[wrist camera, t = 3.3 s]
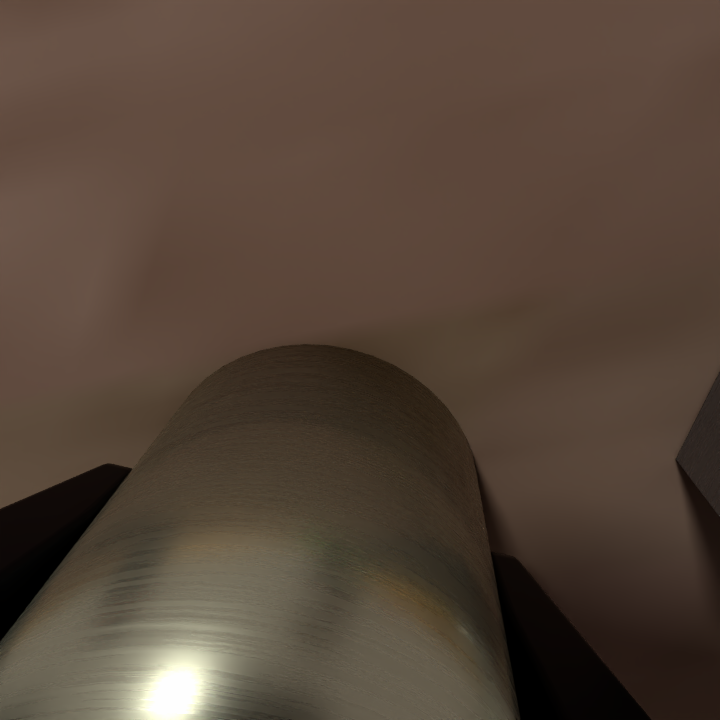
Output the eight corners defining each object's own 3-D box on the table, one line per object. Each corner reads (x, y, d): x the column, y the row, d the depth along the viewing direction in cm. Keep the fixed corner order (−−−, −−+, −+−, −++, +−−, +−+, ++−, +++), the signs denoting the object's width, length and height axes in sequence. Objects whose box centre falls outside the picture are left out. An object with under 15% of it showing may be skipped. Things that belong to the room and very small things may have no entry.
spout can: (429, 640, 11) (461, 1521, 4) (149, 575, 11) (-290, 1366, 4) (521, 389, 9) (878, 1302, 2) (179, 309, 9) (-598, 985, 2)
